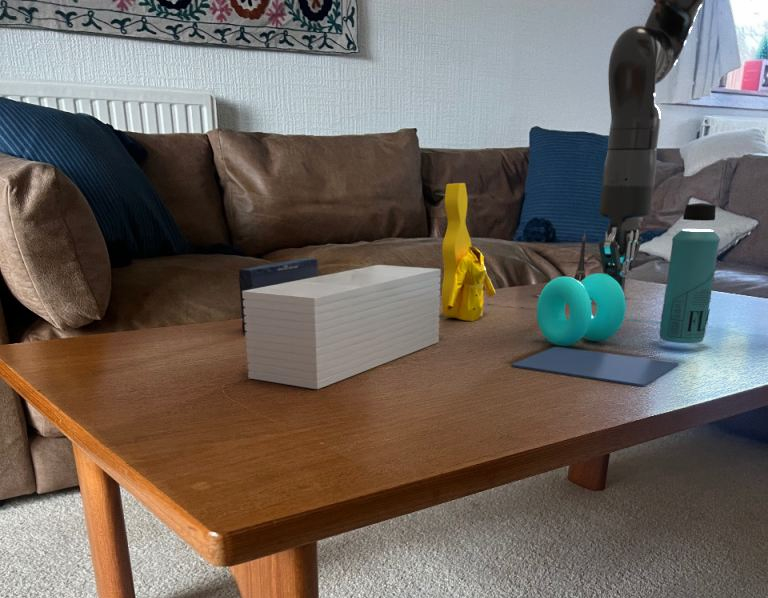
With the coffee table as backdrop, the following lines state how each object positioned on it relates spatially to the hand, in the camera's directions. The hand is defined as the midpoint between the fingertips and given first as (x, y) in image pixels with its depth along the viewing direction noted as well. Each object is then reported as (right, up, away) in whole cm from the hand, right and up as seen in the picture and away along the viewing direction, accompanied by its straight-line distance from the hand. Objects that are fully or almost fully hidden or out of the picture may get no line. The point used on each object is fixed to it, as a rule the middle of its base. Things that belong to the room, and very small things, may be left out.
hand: (614, 300), depth 124 cm
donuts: (-7, -8, -6) cm, 12 cm away
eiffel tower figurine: (+2, +9, +32) cm, 33 cm away
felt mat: (-8, -14, -19) cm, 25 cm away
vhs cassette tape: (-54, -2, +7) cm, 54 cm away
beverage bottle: (+7, -10, -9) cm, 15 cm away
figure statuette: (-23, +1, +14) cm, 27 cm away
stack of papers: (-41, -13, -16) cm, 46 cm away
